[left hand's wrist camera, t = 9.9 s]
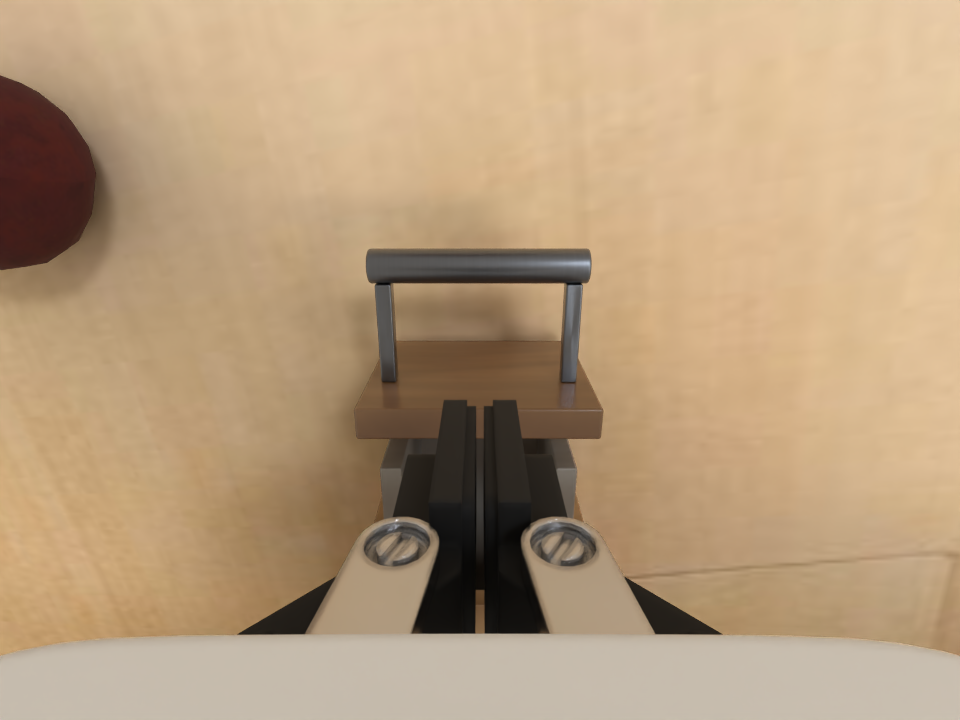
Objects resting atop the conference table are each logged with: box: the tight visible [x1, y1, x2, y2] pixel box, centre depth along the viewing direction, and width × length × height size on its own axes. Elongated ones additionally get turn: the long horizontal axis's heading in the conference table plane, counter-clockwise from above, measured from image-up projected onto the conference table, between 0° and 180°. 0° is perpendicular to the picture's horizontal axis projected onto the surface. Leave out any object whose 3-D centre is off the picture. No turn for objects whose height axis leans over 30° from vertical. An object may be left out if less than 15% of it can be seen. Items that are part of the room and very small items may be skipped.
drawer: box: [354, 249, 603, 590], centre depth 25 cm, size 25×9×8 cm, turn 0°
